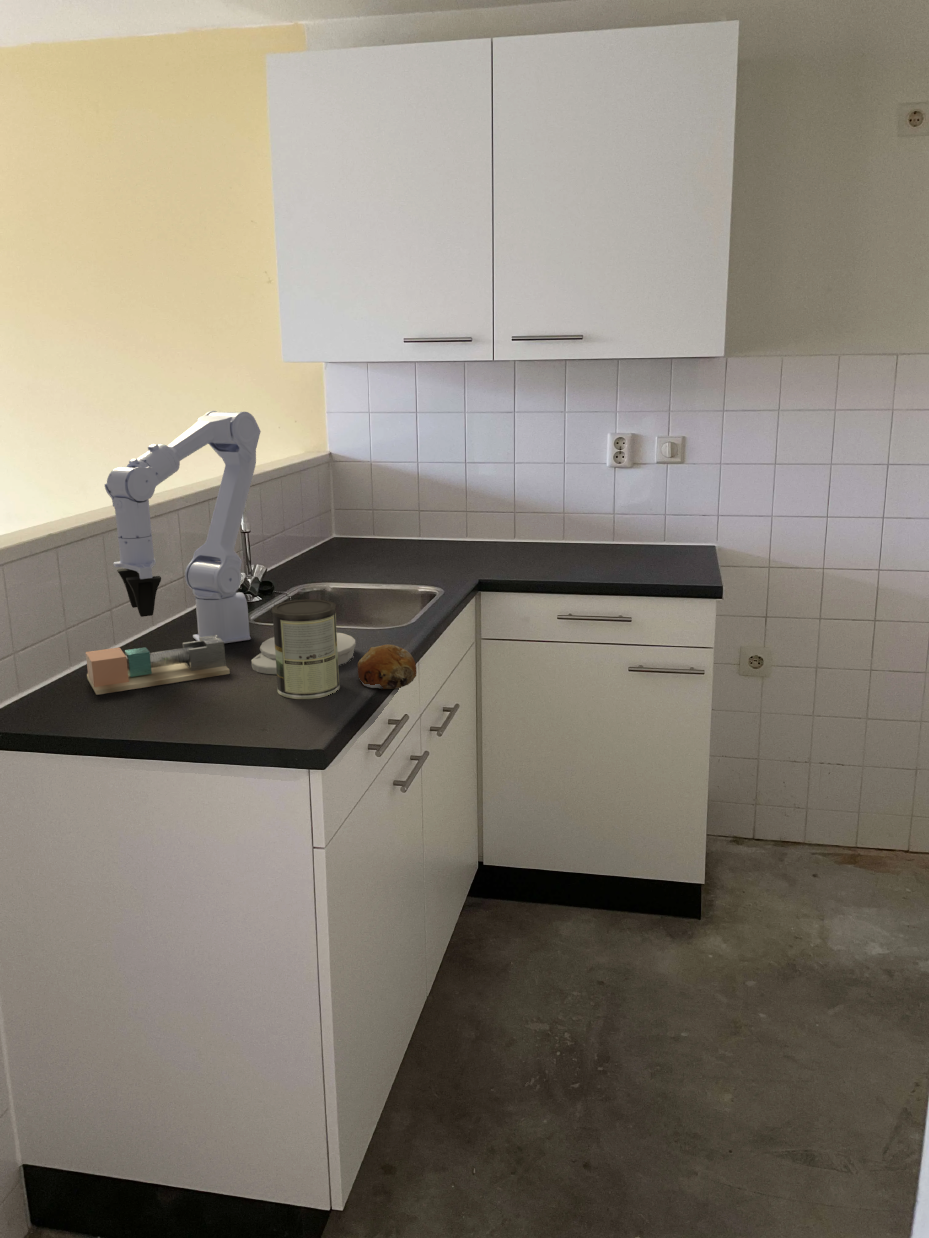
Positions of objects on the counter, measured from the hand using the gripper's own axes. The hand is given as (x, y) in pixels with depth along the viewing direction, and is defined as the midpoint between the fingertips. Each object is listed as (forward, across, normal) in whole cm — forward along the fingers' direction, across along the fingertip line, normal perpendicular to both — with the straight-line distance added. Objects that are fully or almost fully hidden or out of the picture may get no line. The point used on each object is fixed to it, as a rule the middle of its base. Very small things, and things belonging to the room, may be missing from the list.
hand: (142, 611), depth 176 cm
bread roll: (+10, +32, +33) cm, 47 cm away
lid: (+10, +13, +25) cm, 30 cm away
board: (+9, +10, 0) cm, 14 cm away
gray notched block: (+9, +10, +8) cm, 16 cm away
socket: (+9, +10, -8) cm, 16 cm away
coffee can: (+10, +30, +20) cm, 37 cm away
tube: (+8, +10, -1) cm, 13 cm away
